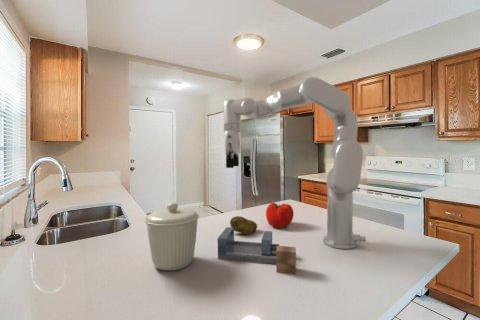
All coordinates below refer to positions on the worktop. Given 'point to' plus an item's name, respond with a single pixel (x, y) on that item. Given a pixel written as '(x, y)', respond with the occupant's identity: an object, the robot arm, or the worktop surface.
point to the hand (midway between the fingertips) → (232, 166)
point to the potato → (243, 225)
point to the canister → (172, 236)
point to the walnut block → (286, 259)
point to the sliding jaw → (267, 243)
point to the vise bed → (242, 249)
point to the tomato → (279, 215)
